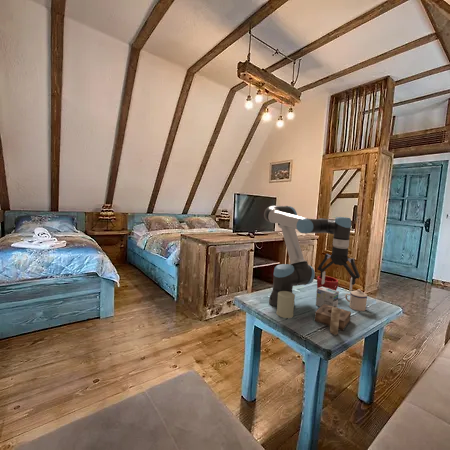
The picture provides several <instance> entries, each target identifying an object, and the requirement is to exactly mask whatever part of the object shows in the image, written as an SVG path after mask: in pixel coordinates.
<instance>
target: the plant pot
mask: <svg viewBox="0 0 450 450" xmlns="http://www.w3.org/2000/svg"><path fill="white" fill-rule="evenodd" d="M338 286H339V280H338V279H337V278H335V277H332V276H327V275H325V282H324V284H322V277H320V275H318V276H317V277H316V287H317V288H320V287H325V288H329V289H332V290H336V291H338V290H337V289H338ZM317 288H316V289H317Z"/></svg>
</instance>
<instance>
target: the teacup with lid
mask: <svg viewBox="0 0 450 450" xmlns="http://www.w3.org/2000/svg"><path fill="white" fill-rule="evenodd" d="M348 296H349V297H350V298H348ZM344 298H345V300H346V301H347V302H349V305H348V306H349V308H350V309H352V310H353V311H357V312H365V311H366V309H367V302H368V301H367V299H368V294H367V293H365V292H363V291H362V290H361V289H360V288H358V289H356V290H351V291H350V293H346V294H345V296H344Z"/></svg>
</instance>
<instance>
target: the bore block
mask: <svg viewBox="0 0 450 450" xmlns="http://www.w3.org/2000/svg"><path fill="white" fill-rule="evenodd" d="M332 307H333V306H329V305H326V304H323V305H322V306H321V307H320V306H319V308H318V309H317V310H316V311H315V312H314V322H317V323H319V324H323V325H325V326H328V327H330V323H331V312H332ZM338 308H339V307H338ZM339 309H340V316H339V327H338V331H344V330H345V329H346V327H347V326H348V325H349V323H350V322H351V315H352V312H351V311H350V310H345V309H344V308H343V309H342V308H339Z"/></svg>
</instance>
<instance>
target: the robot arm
mask: <svg viewBox="0 0 450 450" xmlns="http://www.w3.org/2000/svg"><path fill="white" fill-rule="evenodd" d="M263 217H264V219H265V220H266V221H267V222H268V223H271V224H277V226H278V228H280V229H281V232H282V236H283V240H284V243H285V248H286V250H287V254H288V257H289V262H290V263H286V264H285V263H282V264H277V265H276V266H274V269H273V274H272V275H273V277H272V278H273V279H272V280H273V281H272V282H273V283H272V290H271V292H270V295H269V298H268V303H269V304H270V305H271V306H273V307H275V308H277V301H278V292H280V291H288V292H291V293H293V288H294V287H296V286H306V285H309V284H312V283H313V281H314V280H315V278H316V273H315V272H316V271H315V269H314V267H313V266H311V265H310V264H309V262H308V260H306V259H305V258H304V254H303V251H302V247H301V245H300V241H299V236H298V234H297V231H298V232H299V233H300V234H331V235H333V238H332V248H331V249H332V250H331V254H329V253H325V255H324V258H323V260H322V261H321V262H320V264H319V265H318V267H317V268H316V269H317V271H320V275H319V276H320V277H322V284H324V282H325V276H326V271H325V270H327V269H328V268H329V267H330V266H332V265H333V264H334V265H335V266H336V265H337V266H341V267H344V268H345V270H346V271H347V272H348V275H349V276H350V277H351V278H350V281H349V290H348V291H349V292H351V291H353V286H355V284H356V280H357V279H360V277H361V274H360V272H359V269H358V268H357V266H356V263H355V258H349V257H348V256H349V247H350V236H351V229H352V218H350V217H344V216H336V217H335V219H331V218H330V219H328V218H308V217H303V216H300V215H298V213H297V211H296V209H295V207H293V206H288V205H270V206H268V207H267V208H265V209H264V213H263ZM296 230H297V231H296ZM328 259H331V261H330V262H329V263H327V264H326V265H325V263H326V262H327V260H328ZM347 262H349V263H350V266H351V268H352V269H351V268H350V266H349V265H348V263H347ZM324 265H325V266H324ZM294 304H295V300H294Z"/></svg>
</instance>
